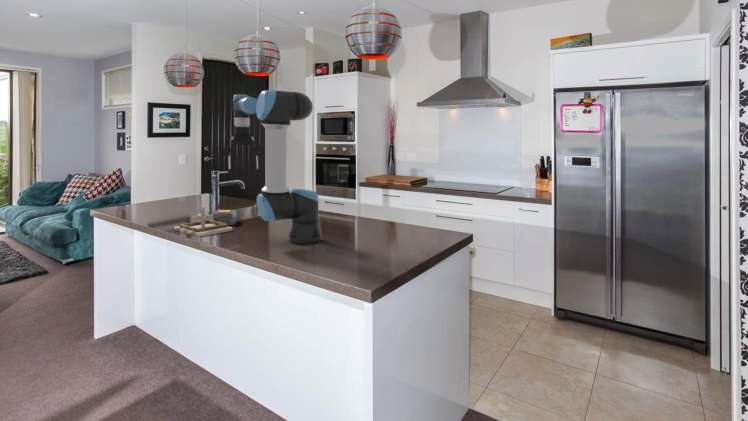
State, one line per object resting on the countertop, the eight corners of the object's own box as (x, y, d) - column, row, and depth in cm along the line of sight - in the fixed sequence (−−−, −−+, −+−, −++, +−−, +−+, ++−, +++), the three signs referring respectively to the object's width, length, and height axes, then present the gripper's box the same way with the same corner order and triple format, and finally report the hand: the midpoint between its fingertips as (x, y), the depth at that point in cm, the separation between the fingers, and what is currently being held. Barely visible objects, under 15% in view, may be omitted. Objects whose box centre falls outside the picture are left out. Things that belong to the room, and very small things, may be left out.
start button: (229, 217, 233) (229, 211, 233) (217, 217, 233) (217, 211, 232) (232, 215, 239) (231, 210, 239) (220, 215, 239) (220, 209, 238)
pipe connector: (209, 224, 225) (208, 204, 223) (217, 227, 217) (216, 207, 216) (189, 226, 218) (188, 206, 217) (196, 230, 211) (195, 209, 209)
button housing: (233, 224, 232) (233, 213, 231) (211, 224, 231) (211, 213, 230) (238, 220, 242) (237, 210, 241) (217, 220, 241) (216, 209, 240)
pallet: (232, 230, 219) (232, 224, 218) (199, 236, 205) (198, 230, 204) (207, 224, 232) (207, 218, 231) (174, 229, 218) (174, 223, 217)
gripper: (215, 125, 216) (217, 169, 220) (267, 126, 223) (269, 169, 226) (216, 126, 224) (218, 168, 227) (267, 127, 230) (268, 168, 233)
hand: (243, 168), depth 227 cm, fingers open, 13 cm apart
